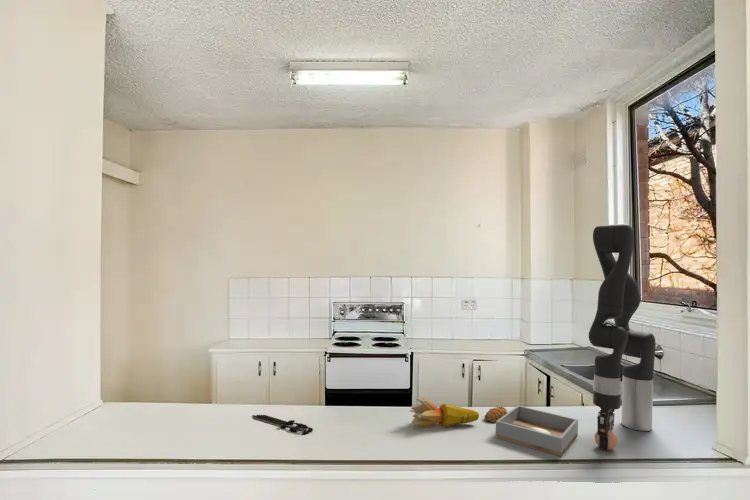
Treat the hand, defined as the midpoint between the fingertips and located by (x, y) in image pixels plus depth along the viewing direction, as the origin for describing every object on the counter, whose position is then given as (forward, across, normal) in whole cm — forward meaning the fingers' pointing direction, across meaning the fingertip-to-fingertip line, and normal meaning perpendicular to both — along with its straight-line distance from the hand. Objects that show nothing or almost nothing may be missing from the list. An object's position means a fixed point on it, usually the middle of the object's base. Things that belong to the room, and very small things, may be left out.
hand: (605, 445), depth 133 cm
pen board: (+1, -5, +19) cm, 20 cm away
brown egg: (-2, 0, 0) cm, 2 cm away
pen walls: (0, -5, +19) cm, 20 cm away
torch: (+1, -18, +46) cm, 49 cm away
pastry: (+2, +1, +35) cm, 35 cm away
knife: (+2, -54, +88) cm, 103 cm away
